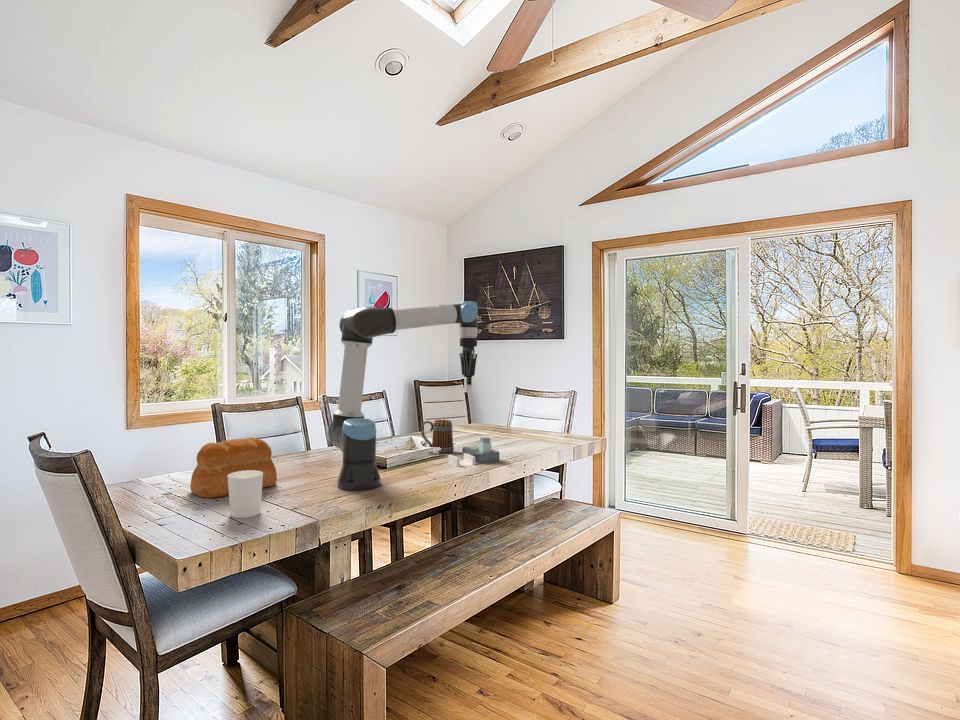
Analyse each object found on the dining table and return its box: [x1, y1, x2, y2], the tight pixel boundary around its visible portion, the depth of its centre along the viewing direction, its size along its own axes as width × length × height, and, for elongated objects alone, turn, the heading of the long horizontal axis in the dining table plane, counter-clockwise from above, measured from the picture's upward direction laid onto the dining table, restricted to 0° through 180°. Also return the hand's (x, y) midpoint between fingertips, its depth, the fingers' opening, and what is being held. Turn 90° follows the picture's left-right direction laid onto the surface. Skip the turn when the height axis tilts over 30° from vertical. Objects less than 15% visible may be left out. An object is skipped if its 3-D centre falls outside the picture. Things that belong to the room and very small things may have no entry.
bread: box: [189, 437, 278, 499], centre depth 190 cm, size 16×26×17 cm, turn 140°
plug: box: [478, 436, 492, 453], centre depth 234 cm, size 4×4×11 cm
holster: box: [447, 453, 476, 467], centre depth 229 cm, size 9×9×4 cm
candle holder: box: [227, 470, 263, 519], centre depth 162 cm, size 10×10×12 cm
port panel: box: [461, 445, 500, 465], centre depth 238 cm, size 10×16×5 cm, turn 27°
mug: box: [420, 419, 455, 456], centre depth 255 cm, size 16×11×15 cm
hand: (467, 392), depth 235 cm, fingers closed
